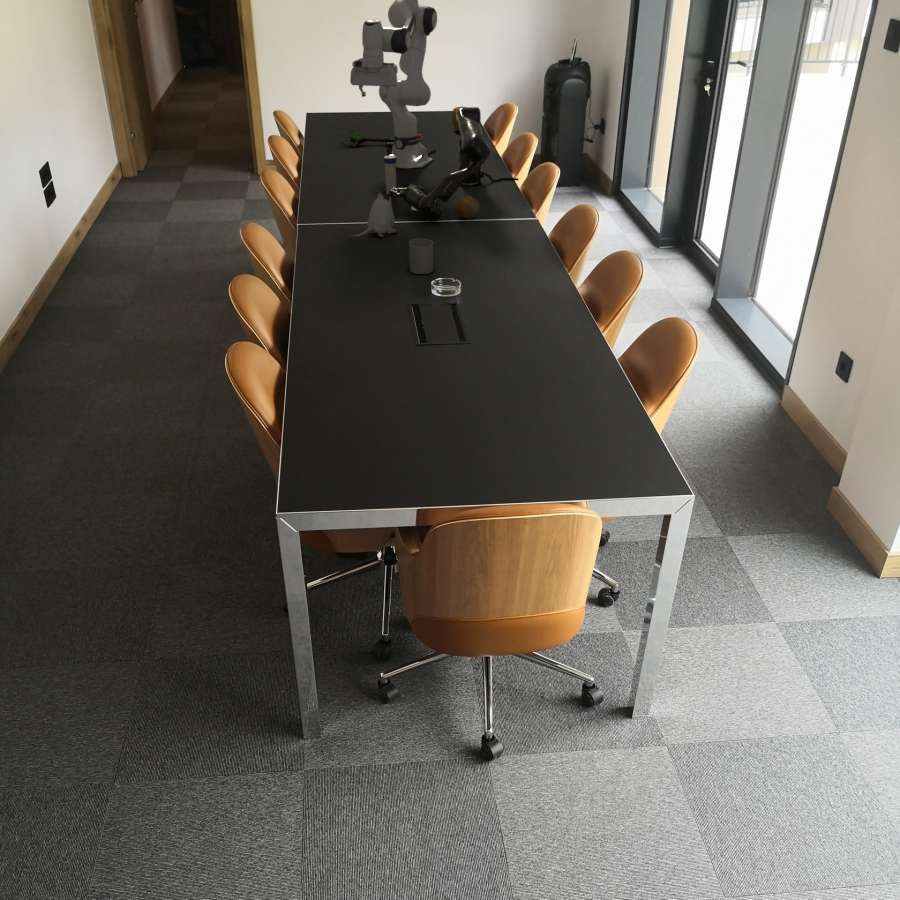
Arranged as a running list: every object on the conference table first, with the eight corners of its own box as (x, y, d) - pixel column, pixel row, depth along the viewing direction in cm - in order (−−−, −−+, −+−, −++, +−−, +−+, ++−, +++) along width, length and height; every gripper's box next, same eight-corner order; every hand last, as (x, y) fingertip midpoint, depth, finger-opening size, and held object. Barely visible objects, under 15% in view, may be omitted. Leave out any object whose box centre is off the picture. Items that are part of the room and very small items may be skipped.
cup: (409, 265, 311) (408, 238, 306) (432, 265, 312) (431, 238, 307) (410, 274, 304) (409, 246, 299) (433, 273, 305) (433, 246, 299)
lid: (383, 160, 383) (383, 155, 382) (395, 160, 384) (395, 155, 382) (384, 164, 378) (384, 158, 377) (397, 163, 379) (396, 158, 378)
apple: (471, 132, 486) (471, 108, 479) (451, 132, 486) (451, 108, 479) (470, 128, 495) (471, 104, 488) (452, 128, 495) (452, 104, 488)
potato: (477, 211, 365) (478, 192, 361) (481, 222, 353) (481, 202, 349) (454, 211, 364) (454, 192, 360) (457, 222, 352) (457, 203, 348)
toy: (401, 232, 342) (400, 194, 334) (357, 247, 328) (354, 207, 320) (386, 227, 348) (384, 189, 339) (341, 241, 333) (338, 202, 325)
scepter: (396, 128, 463) (340, 126, 461) (396, 143, 456) (339, 141, 454) (396, 138, 468) (340, 135, 466) (396, 153, 461) (339, 151, 459)
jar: (385, 191, 390) (384, 156, 382) (396, 191, 390) (394, 156, 382) (386, 194, 386) (385, 159, 378) (397, 194, 386) (395, 159, 378)
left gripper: (398, 62, 372) (399, 96, 379) (351, 60, 374) (353, 94, 381) (396, 64, 366) (396, 98, 374) (348, 62, 368) (350, 97, 375)
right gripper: (399, 208, 361) (385, 197, 374) (430, 204, 366) (416, 193, 378) (398, 190, 357) (385, 180, 369) (430, 186, 362) (416, 176, 374)
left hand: (374, 96), depth 377 cm, fingers open, 8 cm apart
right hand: (401, 187), depth 374 cm, fingers open, 8 cm apart
